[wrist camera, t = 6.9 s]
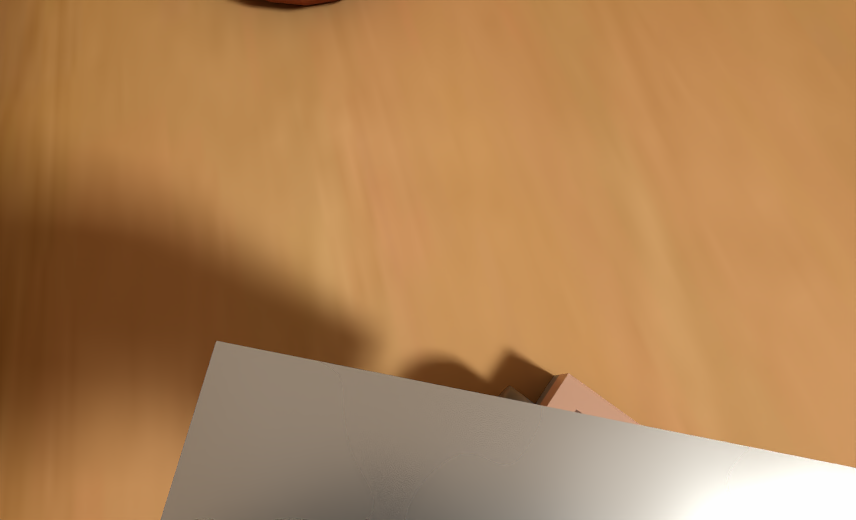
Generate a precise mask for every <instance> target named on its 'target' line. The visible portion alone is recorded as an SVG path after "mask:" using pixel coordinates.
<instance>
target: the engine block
mask: <svg viewBox="0 0 856 520" xmlns="http://www.w3.org/2000/svg"><path fill="white" fill-rule="evenodd" d="M161 520H856V468H853V467H848V466H843V465H838V464H833V463H828V462H823V461H818V460H813V459H808V458H803V457H798V456H793V455H788V454H783V453H778V452H773V451H768V450H763V449H758V448H753V447H748V446H743V445H738V444H733V443H728V442H723V441H717V440H712V439H707V438H702V437H697V436H692V435H687V434H682V433H677V432H672V431H667V430H662V429H657V428H652V427H647V426H642V425H637V424H632V423H627V422H622V421H617V420H612V419H607V418H602V417H597V416H592V415H587V414H582V413H577V412H572V411H567V410H562V409H557V408H552V407H547V406H542V405H537V404H532V403H527V402H522V401H517V400H512V399H507V398H502V397H497V396H491V395H486V394H481V393H476V392H471V391H466V390H461V389H456V388H451V387H446V386H441V385H436V384H431V383H426V382H421V381H416V380H411V379H406V378H401V377H396V376H391V375H386V374H381V373H376V372H371V371H366V370H361V369H356V368H351V367H346V366H341V365H336V364H331V363H326V362H321V361H316V360H311V359H306V358H301V357H296V356H291V355H286V354H281V353H276V352H271V351H266V350H260V349H255V348H250V347H245V346H240V345H235V344H230V343H225V342H220V341H216V344H215V347H214V350H213V353H212V356H211V360H210V363H209V366H208V369H207V372H206V376H205V379H204V382H203V385H202V389H201V392H200V395H199V398H198V401H197V405H196V408H195V411H194V414H193V417H192V421H191V424H190V427H189V430H188V433H187V437H186V440H185V443H184V446H183V450H182V453H181V456H180V459H179V462H178V466H177V469H176V472H175V475H174V478H173V482H172V485H171V488H170V491H169V495H168V498H167V501H166V504H165V507H164V511H163V514H162V517H161Z"/></svg>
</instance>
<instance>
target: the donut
mask: <svg viewBox="0 0 856 520" xmlns="http://www.w3.org/2000/svg"><path fill="white" fill-rule="evenodd" d="M267 1H269V2H276V3H286V4H296V5H312V4H318V3H324V2H331V1H337V0H267Z"/></svg>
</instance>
